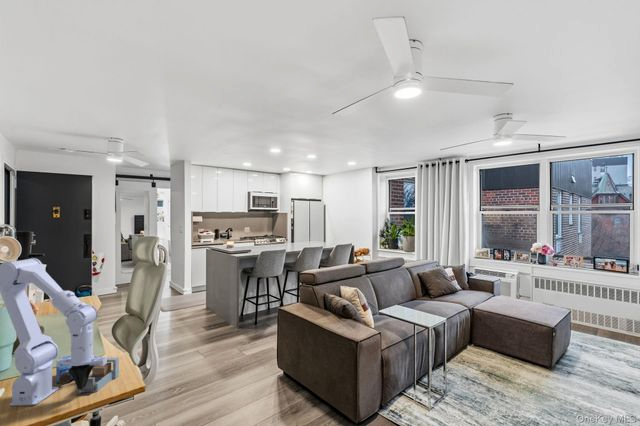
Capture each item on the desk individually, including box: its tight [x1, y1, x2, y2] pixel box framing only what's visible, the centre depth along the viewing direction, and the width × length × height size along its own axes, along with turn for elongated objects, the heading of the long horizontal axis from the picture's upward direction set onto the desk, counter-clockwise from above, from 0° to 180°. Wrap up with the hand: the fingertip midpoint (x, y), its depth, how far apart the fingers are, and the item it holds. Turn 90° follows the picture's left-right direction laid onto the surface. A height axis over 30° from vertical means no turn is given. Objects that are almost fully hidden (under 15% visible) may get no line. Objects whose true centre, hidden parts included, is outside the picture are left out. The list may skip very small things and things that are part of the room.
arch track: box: [77, 357, 121, 396], centre depth 110 cm, size 16×8×7 cm, turn 2°
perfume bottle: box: [55, 355, 74, 384], centre depth 112 cm, size 6×6×12 cm
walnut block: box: [91, 362, 112, 377], centre depth 111 cm, size 4×4×4 cm
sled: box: [81, 369, 113, 391], centre depth 109 cm, size 10×4×4 cm, turn 2°
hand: (81, 387), depth 102 cm, fingers closed
